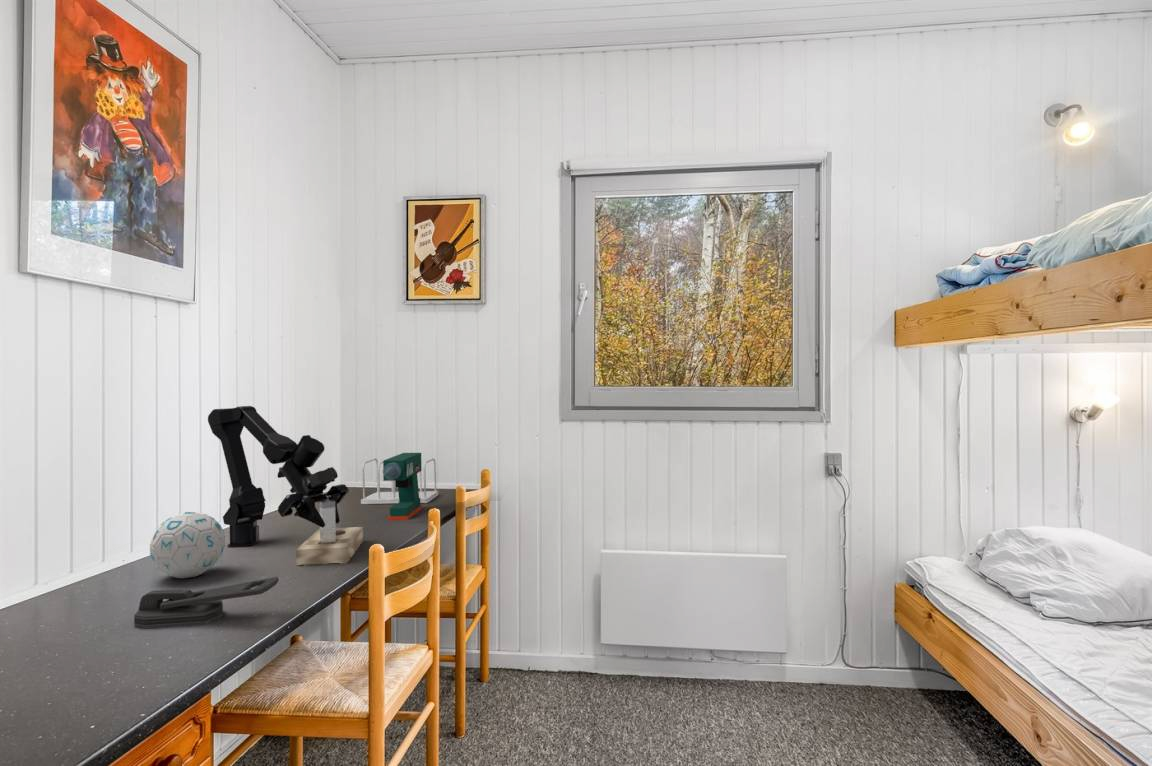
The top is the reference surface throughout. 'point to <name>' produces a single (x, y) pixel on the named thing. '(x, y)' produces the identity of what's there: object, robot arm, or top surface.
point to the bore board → (330, 547)
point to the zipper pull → (192, 604)
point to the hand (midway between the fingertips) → (331, 524)
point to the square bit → (328, 522)
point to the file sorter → (394, 496)
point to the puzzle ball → (187, 544)
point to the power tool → (404, 484)
